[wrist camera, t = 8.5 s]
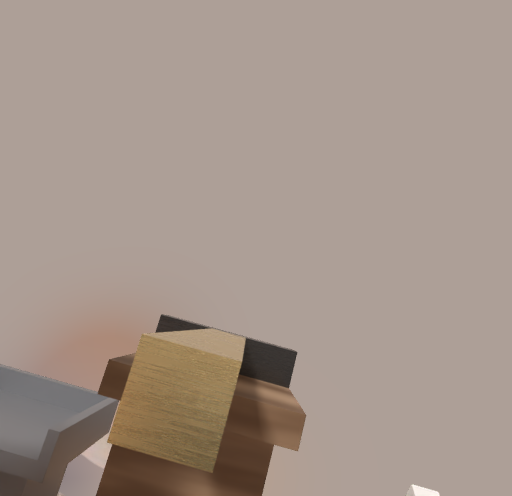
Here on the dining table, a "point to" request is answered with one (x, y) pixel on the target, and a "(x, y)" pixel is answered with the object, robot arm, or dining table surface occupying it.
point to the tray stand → (45, 430)
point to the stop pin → (190, 389)
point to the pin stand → (230, 450)
